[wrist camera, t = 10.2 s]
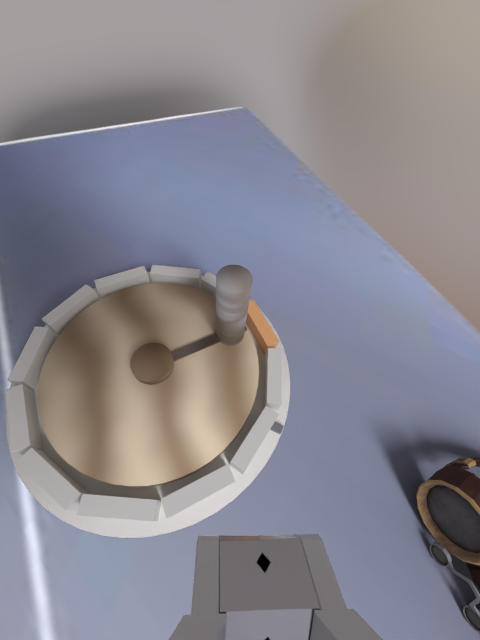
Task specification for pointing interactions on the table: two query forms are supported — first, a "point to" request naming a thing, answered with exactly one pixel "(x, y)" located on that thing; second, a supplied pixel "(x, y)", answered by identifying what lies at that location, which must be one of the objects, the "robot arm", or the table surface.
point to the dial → (151, 381)
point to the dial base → (156, 501)
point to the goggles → (455, 522)
